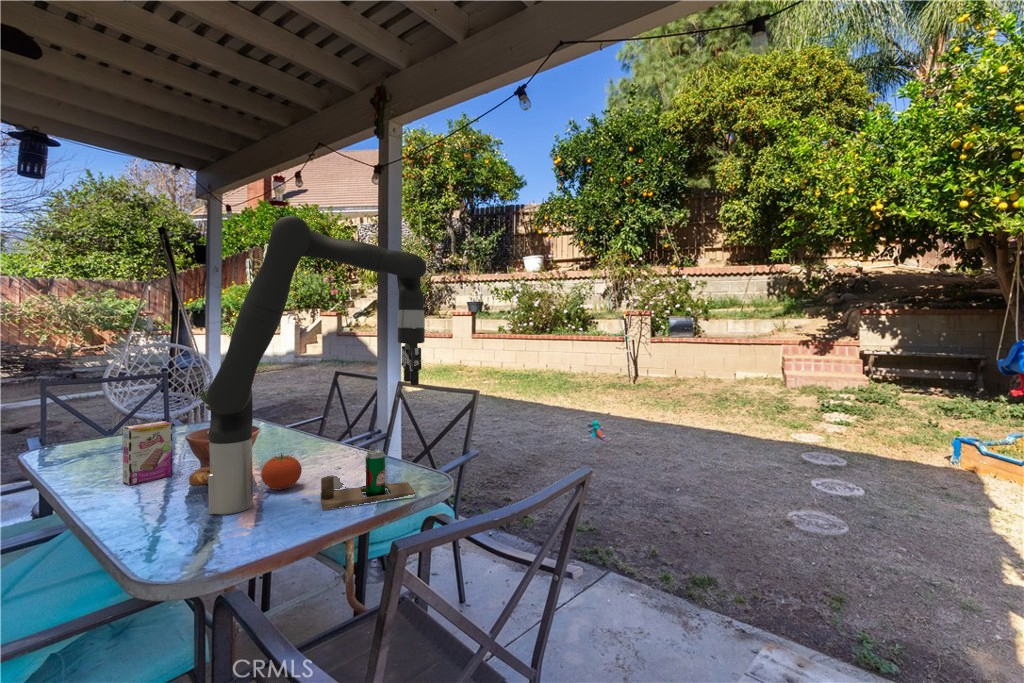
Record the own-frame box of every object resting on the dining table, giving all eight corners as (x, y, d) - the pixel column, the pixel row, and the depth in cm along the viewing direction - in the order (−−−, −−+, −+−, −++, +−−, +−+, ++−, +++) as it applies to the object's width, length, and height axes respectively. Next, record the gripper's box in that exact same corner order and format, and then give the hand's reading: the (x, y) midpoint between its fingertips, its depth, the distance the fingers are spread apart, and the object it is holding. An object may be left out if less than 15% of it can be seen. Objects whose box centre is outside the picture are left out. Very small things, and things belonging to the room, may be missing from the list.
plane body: (322, 510, 121) (322, 484, 121) (320, 498, 130) (320, 473, 129) (415, 497, 130) (415, 473, 130) (407, 486, 139) (407, 464, 139)
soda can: (380, 501, 128) (379, 455, 127) (362, 499, 129) (361, 454, 128) (388, 494, 133) (388, 450, 132) (371, 493, 134) (371, 449, 133)
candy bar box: (130, 486, 138) (128, 428, 138) (122, 483, 141) (120, 426, 140) (174, 476, 148) (173, 422, 147) (165, 473, 150) (164, 420, 150)
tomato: (255, 488, 137) (255, 453, 137) (293, 480, 144) (292, 446, 144) (269, 498, 130) (268, 460, 129) (307, 488, 137) (307, 453, 137)
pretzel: (198, 490, 137) (197, 476, 137) (181, 482, 143) (181, 470, 143) (242, 478, 147) (242, 466, 146) (224, 472, 153) (224, 460, 153)
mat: (329, 491, 135) (329, 489, 135) (326, 477, 147) (326, 476, 147) (374, 485, 140) (374, 483, 140) (368, 472, 152) (368, 471, 152)
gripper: (393, 326, 144) (393, 381, 145) (403, 326, 131) (403, 386, 132) (418, 326, 147) (418, 380, 148) (430, 326, 134) (430, 385, 135)
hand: (411, 383), depth 140 cm, fingers open, 8 cm apart
